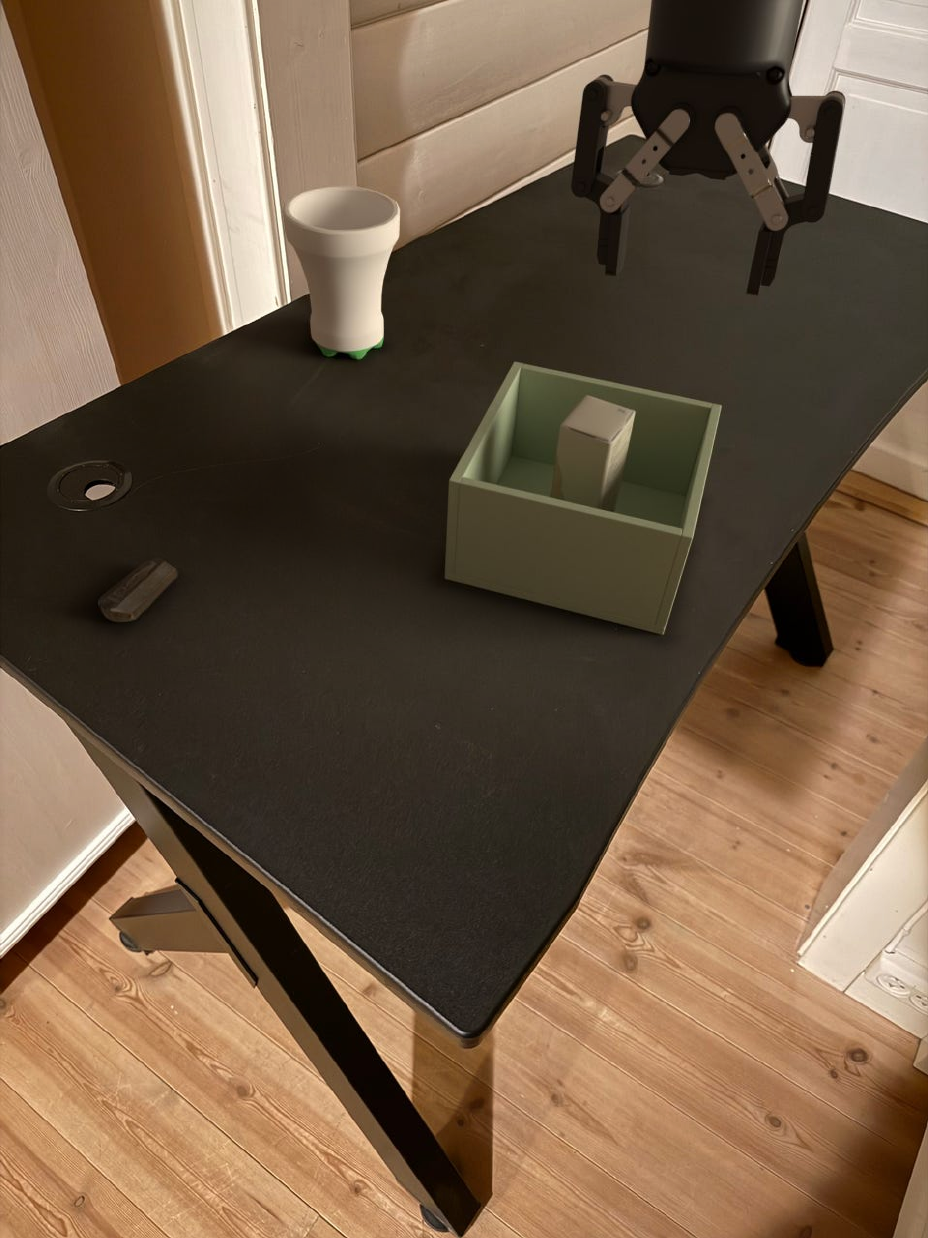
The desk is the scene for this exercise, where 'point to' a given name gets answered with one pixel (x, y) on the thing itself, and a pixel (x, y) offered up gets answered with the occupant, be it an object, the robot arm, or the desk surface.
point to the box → (592, 454)
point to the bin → (572, 533)
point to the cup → (343, 262)
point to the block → (137, 590)
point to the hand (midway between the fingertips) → (683, 281)
